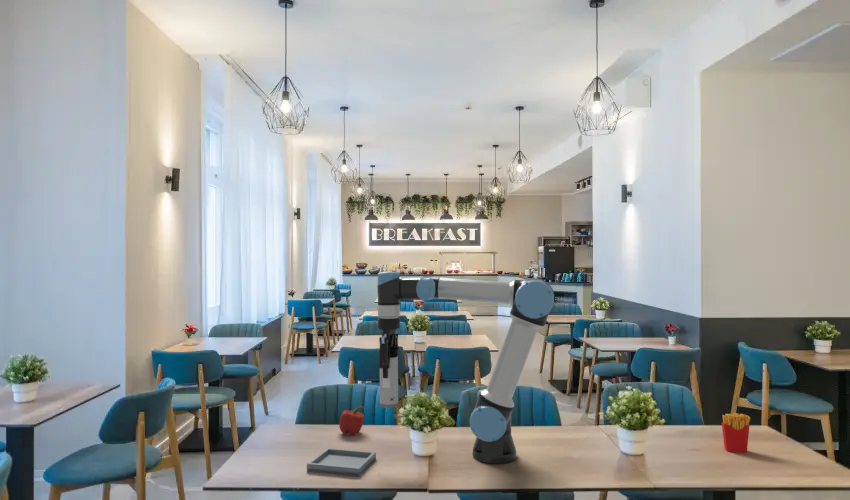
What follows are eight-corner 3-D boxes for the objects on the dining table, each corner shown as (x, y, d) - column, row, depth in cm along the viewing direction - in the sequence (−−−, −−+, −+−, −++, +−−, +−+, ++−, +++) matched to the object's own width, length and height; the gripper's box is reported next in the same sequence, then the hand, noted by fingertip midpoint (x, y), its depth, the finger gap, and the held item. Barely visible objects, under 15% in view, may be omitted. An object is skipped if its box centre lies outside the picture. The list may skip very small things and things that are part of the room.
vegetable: (356, 427, 234) (356, 403, 235) (371, 433, 227) (371, 408, 227) (333, 432, 228) (333, 407, 228) (347, 439, 220) (347, 412, 220)
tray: (375, 459, 197) (376, 452, 197) (359, 476, 182) (359, 468, 182) (327, 455, 202) (327, 447, 202) (306, 471, 186) (306, 463, 186)
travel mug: (396, 408, 191) (396, 348, 192) (377, 407, 193) (377, 347, 193) (401, 403, 198) (400, 345, 198) (382, 403, 199) (382, 345, 199)
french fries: (725, 452, 203) (725, 415, 204) (720, 448, 208) (720, 412, 208) (752, 452, 203) (752, 416, 203) (746, 449, 207) (746, 412, 207)
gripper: (387, 314, 206) (387, 379, 205) (368, 320, 187) (369, 391, 187) (407, 314, 204) (408, 380, 204) (390, 320, 185) (391, 392, 185)
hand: (389, 385), depth 195 cm, fingers closed on travel mug, 6 cm apart
